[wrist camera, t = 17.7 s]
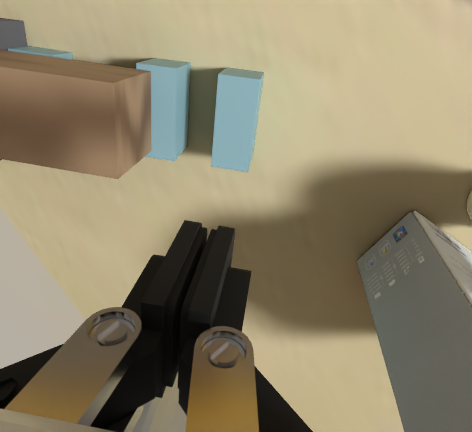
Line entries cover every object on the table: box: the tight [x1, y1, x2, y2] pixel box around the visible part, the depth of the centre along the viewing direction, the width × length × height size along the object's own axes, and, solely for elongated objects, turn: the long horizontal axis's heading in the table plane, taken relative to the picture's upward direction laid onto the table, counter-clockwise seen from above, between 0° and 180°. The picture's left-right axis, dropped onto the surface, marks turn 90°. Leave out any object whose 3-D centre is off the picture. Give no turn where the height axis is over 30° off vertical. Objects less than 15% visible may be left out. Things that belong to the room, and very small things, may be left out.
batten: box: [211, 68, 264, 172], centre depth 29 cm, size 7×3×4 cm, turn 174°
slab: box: [0, 50, 151, 179], centre depth 25 cm, size 6×12×6 cm, turn 84°
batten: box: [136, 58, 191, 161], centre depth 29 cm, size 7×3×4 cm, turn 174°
